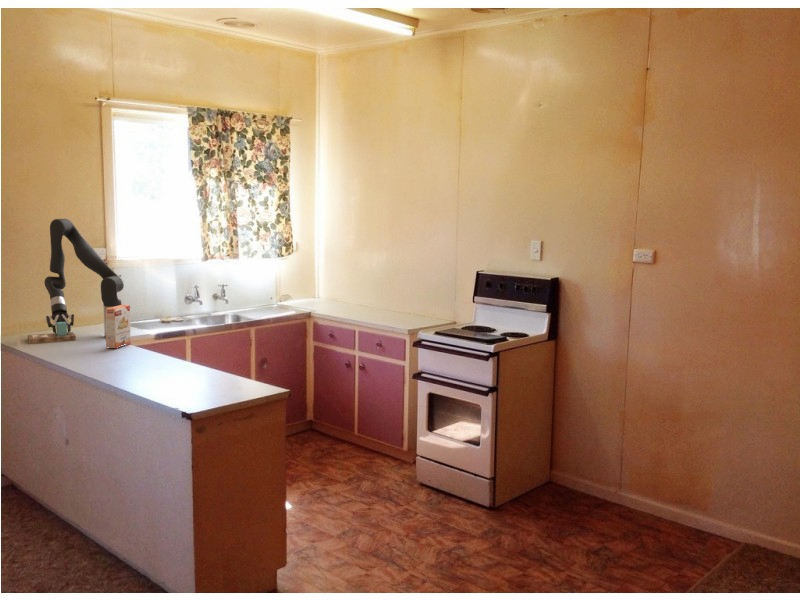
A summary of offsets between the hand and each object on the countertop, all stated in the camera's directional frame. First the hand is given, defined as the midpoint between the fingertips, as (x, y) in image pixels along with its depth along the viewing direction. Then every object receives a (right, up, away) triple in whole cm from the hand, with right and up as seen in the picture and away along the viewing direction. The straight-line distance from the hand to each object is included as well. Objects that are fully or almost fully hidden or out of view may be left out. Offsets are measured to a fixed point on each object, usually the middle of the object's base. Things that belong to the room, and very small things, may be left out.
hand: (62, 331), depth 387 cm
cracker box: (+34, -7, -9) cm, 36 cm away
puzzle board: (-5, -5, 0) cm, 7 cm away
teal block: (-1, -4, +2) cm, 5 cm away
